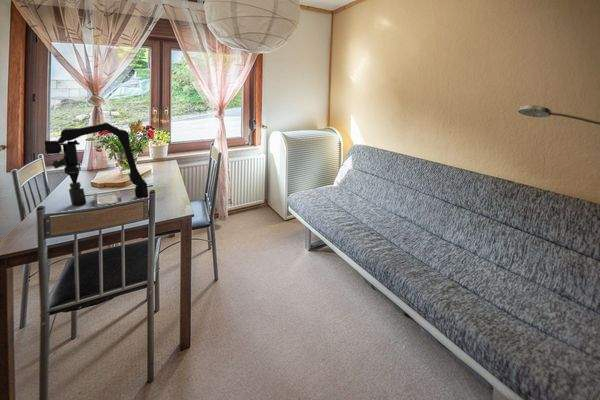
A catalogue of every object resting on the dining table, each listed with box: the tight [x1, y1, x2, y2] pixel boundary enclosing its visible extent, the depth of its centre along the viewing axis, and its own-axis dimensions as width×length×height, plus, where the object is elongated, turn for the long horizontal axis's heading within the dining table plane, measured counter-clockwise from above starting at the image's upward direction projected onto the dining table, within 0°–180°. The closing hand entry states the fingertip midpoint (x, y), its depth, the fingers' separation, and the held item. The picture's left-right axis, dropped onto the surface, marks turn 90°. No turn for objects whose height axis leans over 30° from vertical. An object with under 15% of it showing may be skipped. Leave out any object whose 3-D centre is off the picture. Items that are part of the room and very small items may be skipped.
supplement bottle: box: [68, 181, 87, 207], centre depth 184 cm, size 7×7×12 cm
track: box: [93, 190, 123, 207], centre depth 191 cm, size 13×14×4 cm
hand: (75, 182), depth 182 cm, fingers open, 9 cm apart
